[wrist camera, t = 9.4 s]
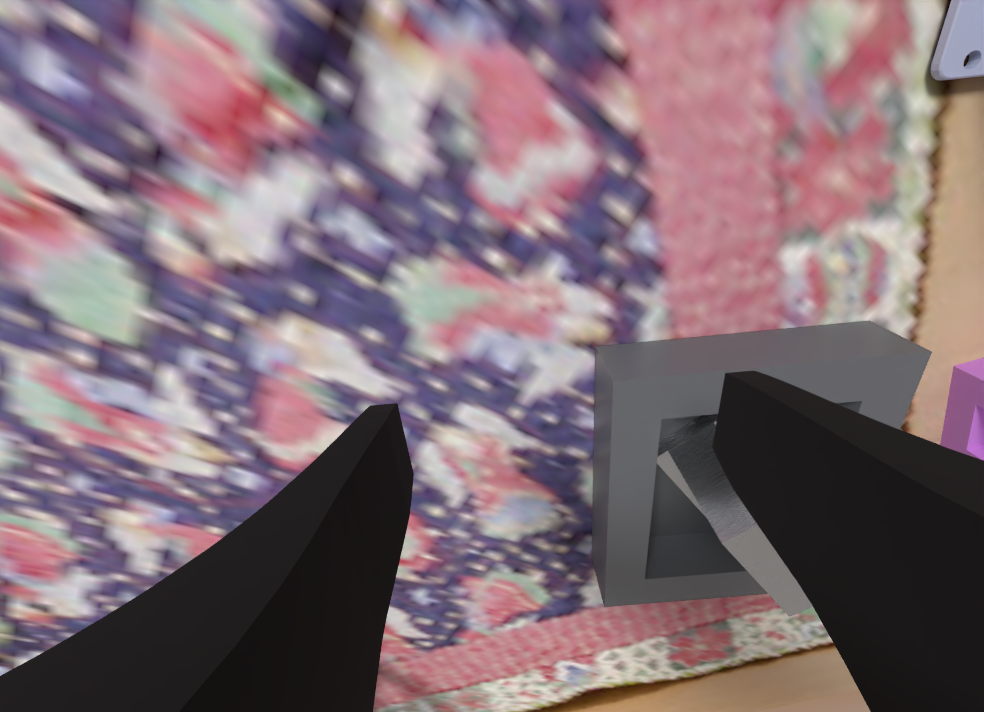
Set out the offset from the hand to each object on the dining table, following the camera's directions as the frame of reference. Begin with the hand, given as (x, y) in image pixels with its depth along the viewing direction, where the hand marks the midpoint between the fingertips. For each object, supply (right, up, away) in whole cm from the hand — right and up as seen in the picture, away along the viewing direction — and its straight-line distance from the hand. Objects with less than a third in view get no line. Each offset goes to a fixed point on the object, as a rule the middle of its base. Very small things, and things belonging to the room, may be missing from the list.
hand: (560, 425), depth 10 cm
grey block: (+10, -4, +12) cm, 16 cm away
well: (+10, -4, +13) cm, 16 cm away
